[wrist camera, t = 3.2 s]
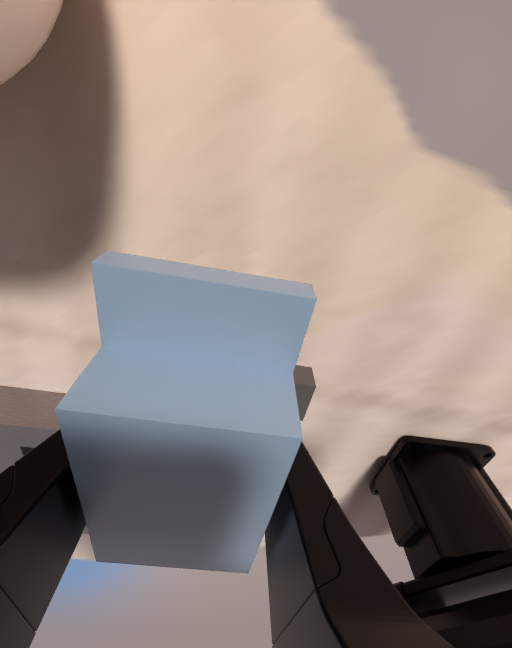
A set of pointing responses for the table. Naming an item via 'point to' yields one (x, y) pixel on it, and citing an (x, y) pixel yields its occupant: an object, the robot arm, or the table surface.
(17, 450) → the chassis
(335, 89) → the table surface
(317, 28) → the table surface
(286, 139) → the table surface
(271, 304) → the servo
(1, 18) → the lidded jar
